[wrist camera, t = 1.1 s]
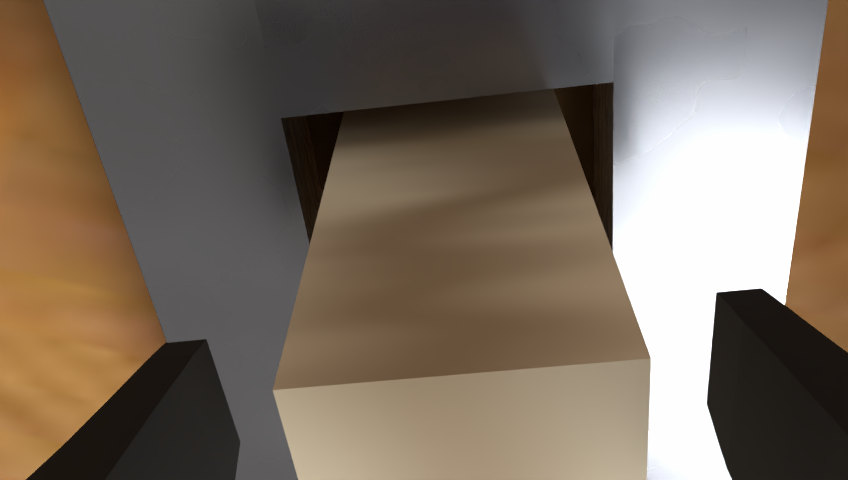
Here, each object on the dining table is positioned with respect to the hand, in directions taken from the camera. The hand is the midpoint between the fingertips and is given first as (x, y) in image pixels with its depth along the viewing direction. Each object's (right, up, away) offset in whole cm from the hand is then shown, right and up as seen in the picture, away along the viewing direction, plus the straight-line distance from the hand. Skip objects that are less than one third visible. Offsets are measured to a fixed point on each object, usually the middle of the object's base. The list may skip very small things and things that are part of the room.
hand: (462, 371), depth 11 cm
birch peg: (0, +3, +5) cm, 6 cm away
